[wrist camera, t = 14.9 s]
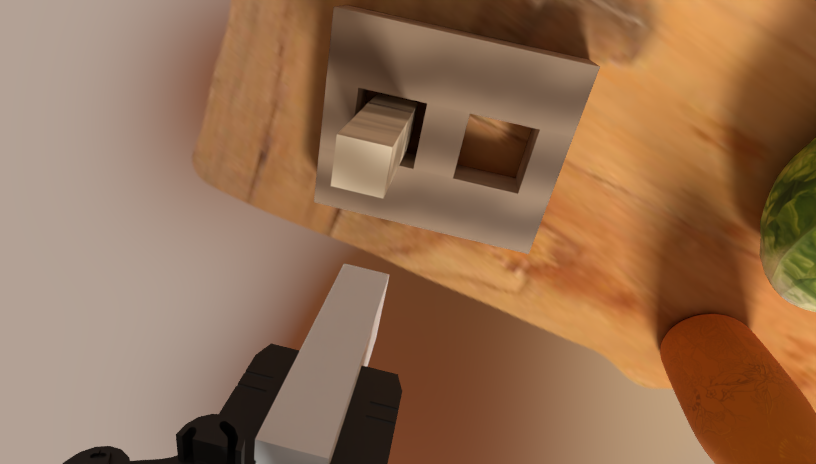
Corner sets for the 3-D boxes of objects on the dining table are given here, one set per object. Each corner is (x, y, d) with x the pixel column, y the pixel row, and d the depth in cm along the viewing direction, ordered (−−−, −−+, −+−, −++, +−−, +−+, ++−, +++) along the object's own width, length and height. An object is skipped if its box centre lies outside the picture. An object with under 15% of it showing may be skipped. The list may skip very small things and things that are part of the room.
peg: (377, 92, 44) (336, 133, 32) (418, 102, 44) (393, 146, 32) (370, 133, 46) (329, 186, 34) (410, 143, 46) (383, 199, 34)
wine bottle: (636, 344, 53) (782, 689, 27) (709, 292, 49) (969, 643, 23) (695, 387, 55) (888, 751, 29) (772, 340, 51) (1082, 720, 24)
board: (346, 5, 41) (333, 6, 37) (589, 59, 40) (599, 66, 37) (325, 187, 50) (313, 202, 46) (525, 234, 49) (528, 253, 45)
